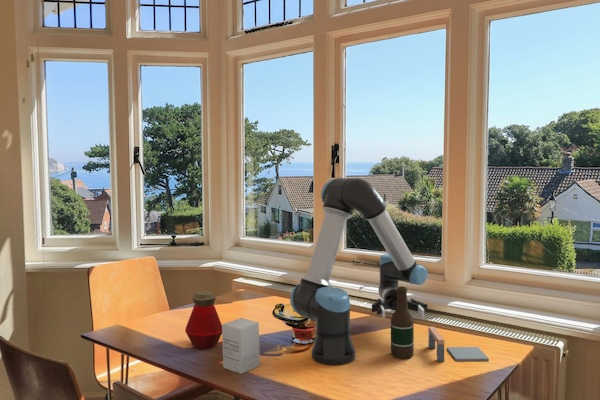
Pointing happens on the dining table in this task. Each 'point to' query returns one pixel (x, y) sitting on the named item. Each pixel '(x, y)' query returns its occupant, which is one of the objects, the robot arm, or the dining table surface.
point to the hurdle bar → (436, 335)
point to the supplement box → (240, 345)
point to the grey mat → (467, 354)
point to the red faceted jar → (204, 321)
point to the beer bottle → (402, 328)
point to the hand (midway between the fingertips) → (403, 314)
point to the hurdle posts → (439, 347)
